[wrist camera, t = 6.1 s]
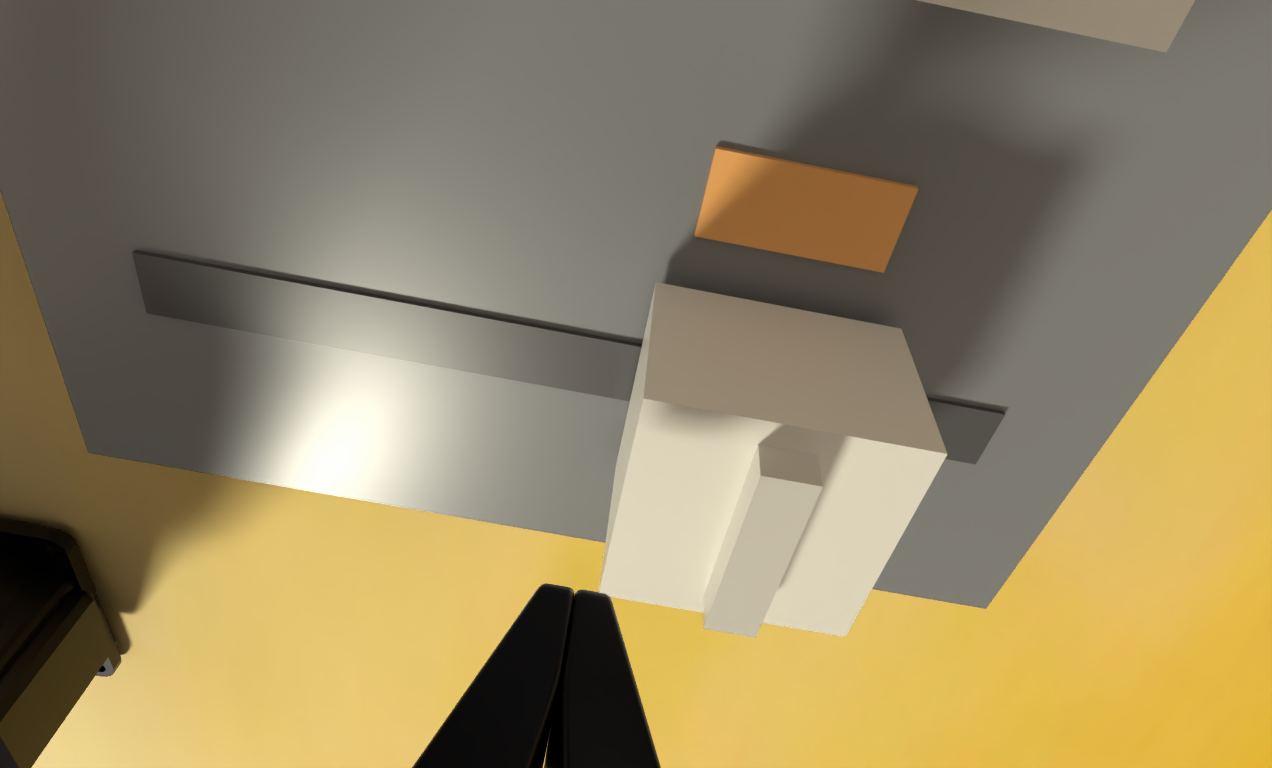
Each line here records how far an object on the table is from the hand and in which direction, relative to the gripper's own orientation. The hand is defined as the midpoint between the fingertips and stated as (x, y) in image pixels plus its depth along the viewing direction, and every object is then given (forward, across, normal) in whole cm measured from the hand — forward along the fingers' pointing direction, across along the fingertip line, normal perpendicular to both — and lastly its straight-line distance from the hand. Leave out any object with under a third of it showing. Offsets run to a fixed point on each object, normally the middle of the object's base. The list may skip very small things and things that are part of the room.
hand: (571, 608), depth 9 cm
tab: (+5, -2, 0) cm, 6 cm away
